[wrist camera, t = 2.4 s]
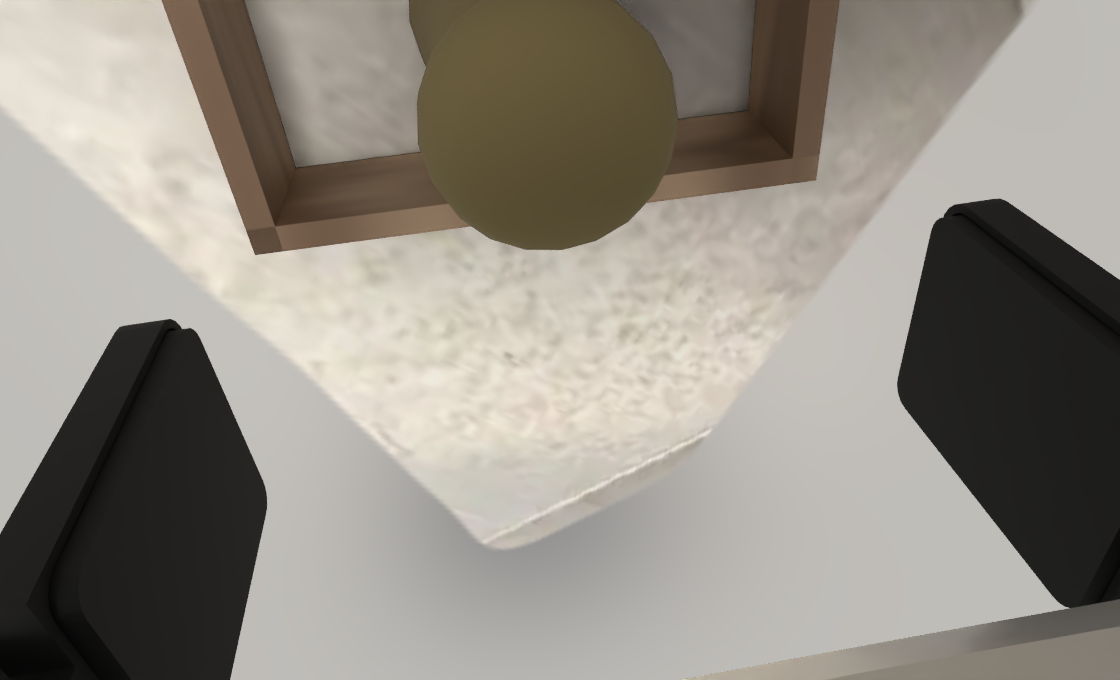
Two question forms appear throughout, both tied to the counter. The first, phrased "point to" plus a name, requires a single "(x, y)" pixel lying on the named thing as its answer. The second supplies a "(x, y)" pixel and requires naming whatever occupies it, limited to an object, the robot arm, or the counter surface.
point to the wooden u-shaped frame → (403, 180)
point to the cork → (542, 116)
